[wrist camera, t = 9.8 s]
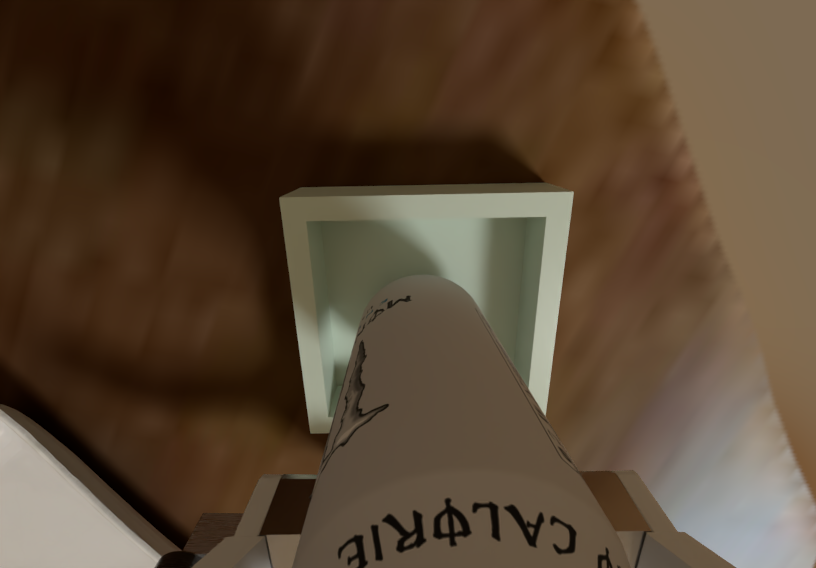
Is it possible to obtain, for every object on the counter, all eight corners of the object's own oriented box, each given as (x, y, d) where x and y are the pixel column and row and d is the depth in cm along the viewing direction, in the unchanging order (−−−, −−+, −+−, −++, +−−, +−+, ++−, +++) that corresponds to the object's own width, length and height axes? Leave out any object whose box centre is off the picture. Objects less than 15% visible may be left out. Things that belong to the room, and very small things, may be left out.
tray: (301, 187, 19) (279, 197, 16) (545, 182, 19) (573, 191, 16) (323, 392, 23) (310, 433, 20) (524, 389, 23) (543, 430, 20)
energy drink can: (377, 255, 19) (300, 525, 4) (496, 287, 19) (796, 625, 5) (348, 366, 20) (215, 850, 6) (459, 393, 21) (598, 897, 6)
